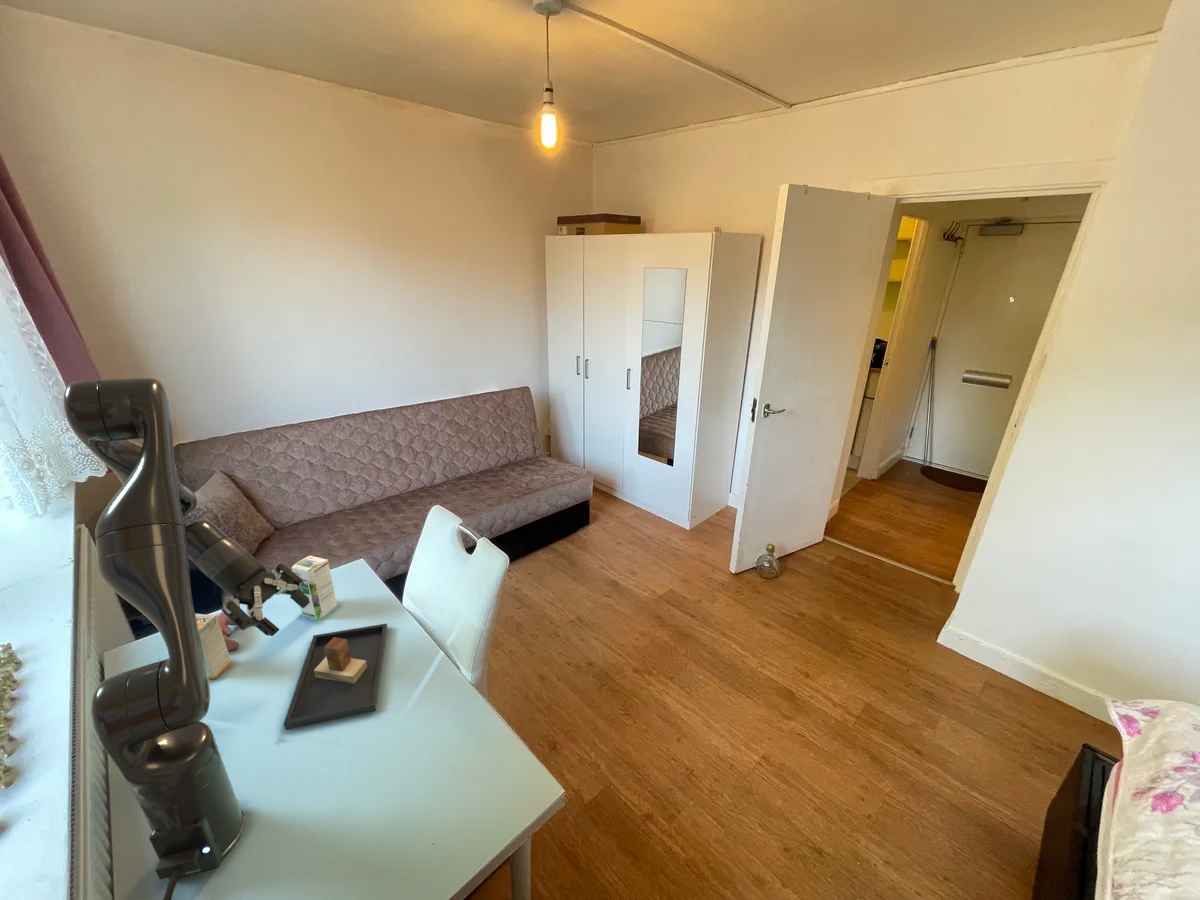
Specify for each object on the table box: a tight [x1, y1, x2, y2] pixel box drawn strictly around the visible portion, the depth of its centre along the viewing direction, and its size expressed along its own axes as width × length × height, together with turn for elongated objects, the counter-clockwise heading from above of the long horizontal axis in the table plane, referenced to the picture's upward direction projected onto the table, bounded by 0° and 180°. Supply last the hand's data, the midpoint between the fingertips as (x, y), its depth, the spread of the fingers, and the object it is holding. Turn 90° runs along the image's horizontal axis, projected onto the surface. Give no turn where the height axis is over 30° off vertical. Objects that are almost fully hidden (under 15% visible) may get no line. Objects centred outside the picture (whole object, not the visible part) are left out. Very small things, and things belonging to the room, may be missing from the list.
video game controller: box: [215, 611, 240, 651], centre depth 111 cm, size 10×5×7 cm, turn 25°
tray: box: [283, 623, 389, 730], centre depth 104 cm, size 24×16×2 cm, turn 17°
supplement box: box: [195, 613, 233, 680], centre depth 102 cm, size 8×5×13 cm, turn 84°
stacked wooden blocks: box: [314, 637, 367, 684], centre depth 102 cm, size 9×4×8 cm, turn 81°
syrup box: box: [291, 555, 338, 621], centre depth 119 cm, size 6×6×14 cm
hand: (292, 618), depth 100 cm, fingers open, 8 cm apart
